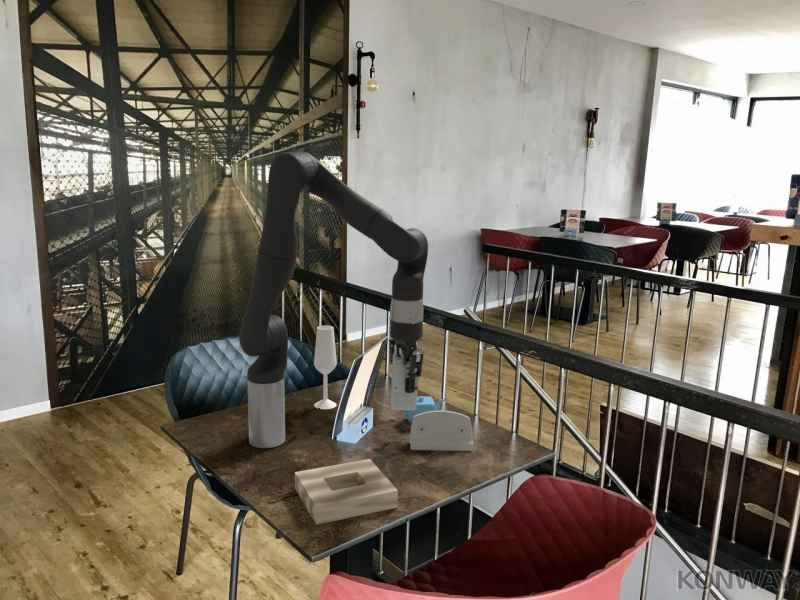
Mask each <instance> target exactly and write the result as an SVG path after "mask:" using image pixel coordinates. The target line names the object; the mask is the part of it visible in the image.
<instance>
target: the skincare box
mask: <svg viewBox="0 0 800 600" xmlns="http://www.w3.org/2000/svg"><path fill="white" fill-rule="evenodd" d="M406 363H407V364H410V362H406ZM391 366H392V367H391V382H390V383H391V388H390V410H393V411H405V410H416V408H417V397H418V388H419V377H415V391H414V392H413V393H406V392H405V377H406V376H405V369H404V368H403V367H402V361H401V358H400V357H399V356H395V355H393V364H391ZM409 369H410V367H409ZM416 369H417V368H416Z"/></svg>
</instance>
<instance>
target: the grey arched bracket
mask: <svg viewBox="0 0 800 600" xmlns="http://www.w3.org/2000/svg"><path fill="white" fill-rule="evenodd" d="M409 434H410V435H409V438H408V439H409V441H408V444H410V448H409V449H410V450H411V451H412V450H414V451H451V452H452V451H453V452H455V451H457V452H458V451H459V452H473V451H474V440H473V438H474V437H473V430H472V421H471V418H470V417H469V416H468V415H465V414H463V413H459V412H456V411H452V410H440V409H439V410H437V411H428V412H424V413H420V414H417V415H415V416H414V417H413V419H412V423H411V426H410V433H409Z"/></svg>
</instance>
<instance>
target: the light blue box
mask: <svg viewBox="0 0 800 600" xmlns="http://www.w3.org/2000/svg"><path fill="white" fill-rule="evenodd" d="M444 401H446V399H444V398H442V399H439V400H438V401H437V402H436V403H435V401H434V398H433V396H423V395H422V396H421V395H420V396H417V408H416V410H404V411H405V413H404V417H405V418H407V421H408V424H412V419H413V417H414V416H415V415H417V414H420V413H424V412H428V411H437V410H440V406H441V404H442V402H444Z"/></svg>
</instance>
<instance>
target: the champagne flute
mask: <svg viewBox="0 0 800 600" xmlns="http://www.w3.org/2000/svg"><path fill="white" fill-rule="evenodd" d="M315 337H316V338H315V347H314V348H315V349H314V350H315V351H314V357H313V358H314V359H313V365H314V367H315V369H316V370H317V371H318V372H319V373H320V374H322V375H323V379H322V381H323V389H322V390H323V391H322V392H323V394H322V395H323V396H322V397H323V398H322V399H321V400H318V401H317V402H316V403H314V404H313V406H314V407H315V408H316V409H319V408H320V410H332V409H334V408H335V407H337V406H338V405H337V403H336V402H334V401H332V400H330V399H329V398H328V375H329V374H331V372H333V370H335V368H336V367H337V364H338V362H337V350H336V343H335V342H336V341H335V340H336V338H335V330H334V326H332V325H319V326H317V328H316V336H315Z"/></svg>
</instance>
